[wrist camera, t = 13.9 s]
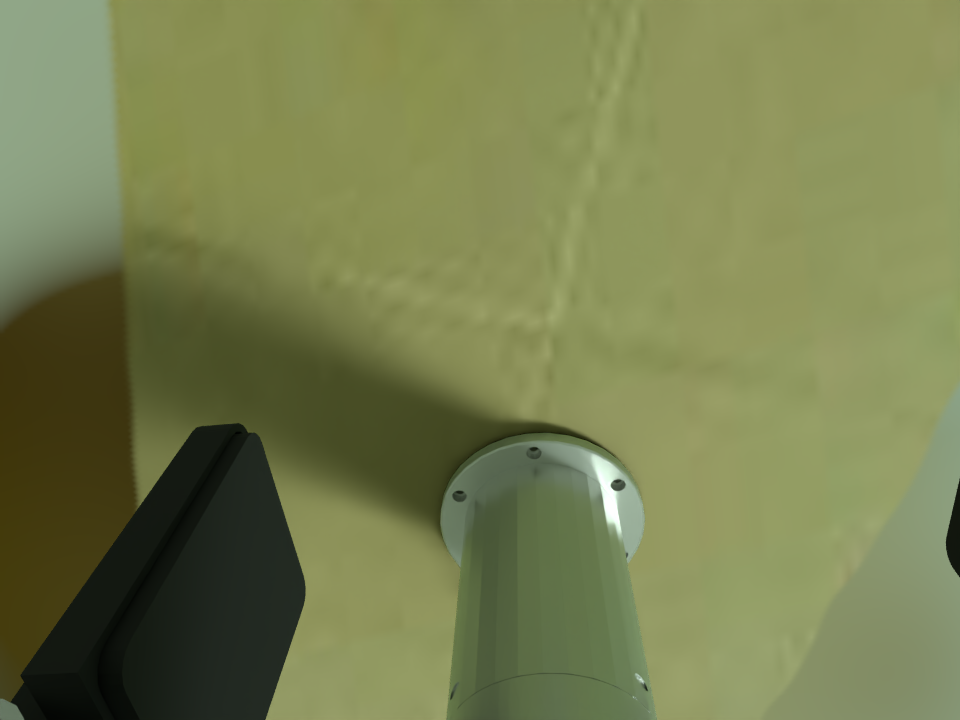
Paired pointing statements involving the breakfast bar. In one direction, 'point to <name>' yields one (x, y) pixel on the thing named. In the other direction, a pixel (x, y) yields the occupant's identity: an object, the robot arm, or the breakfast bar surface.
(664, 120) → the breakfast bar surface
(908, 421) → the breakfast bar surface
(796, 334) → the breakfast bar surface
